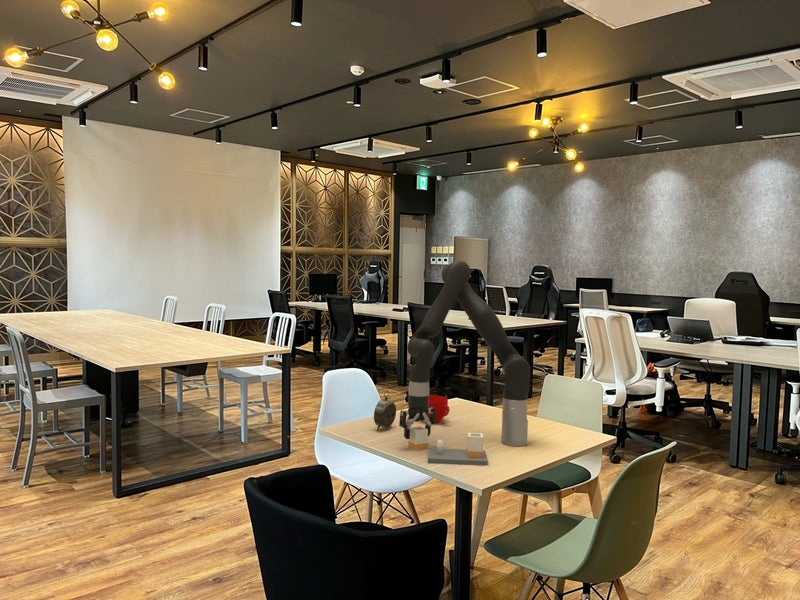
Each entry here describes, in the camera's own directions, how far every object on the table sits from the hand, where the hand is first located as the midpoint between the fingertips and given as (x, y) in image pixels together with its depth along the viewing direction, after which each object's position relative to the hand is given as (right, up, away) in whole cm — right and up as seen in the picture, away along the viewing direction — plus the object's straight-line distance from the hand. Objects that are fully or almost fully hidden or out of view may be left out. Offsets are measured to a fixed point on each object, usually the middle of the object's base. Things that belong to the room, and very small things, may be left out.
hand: (417, 437), depth 215 cm
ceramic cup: (+9, -2, +36) cm, 37 cm away
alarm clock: (-12, -3, +24) cm, 27 cm away
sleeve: (0, -4, 0) cm, 4 cm away
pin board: (+13, -5, -12) cm, 19 cm away
